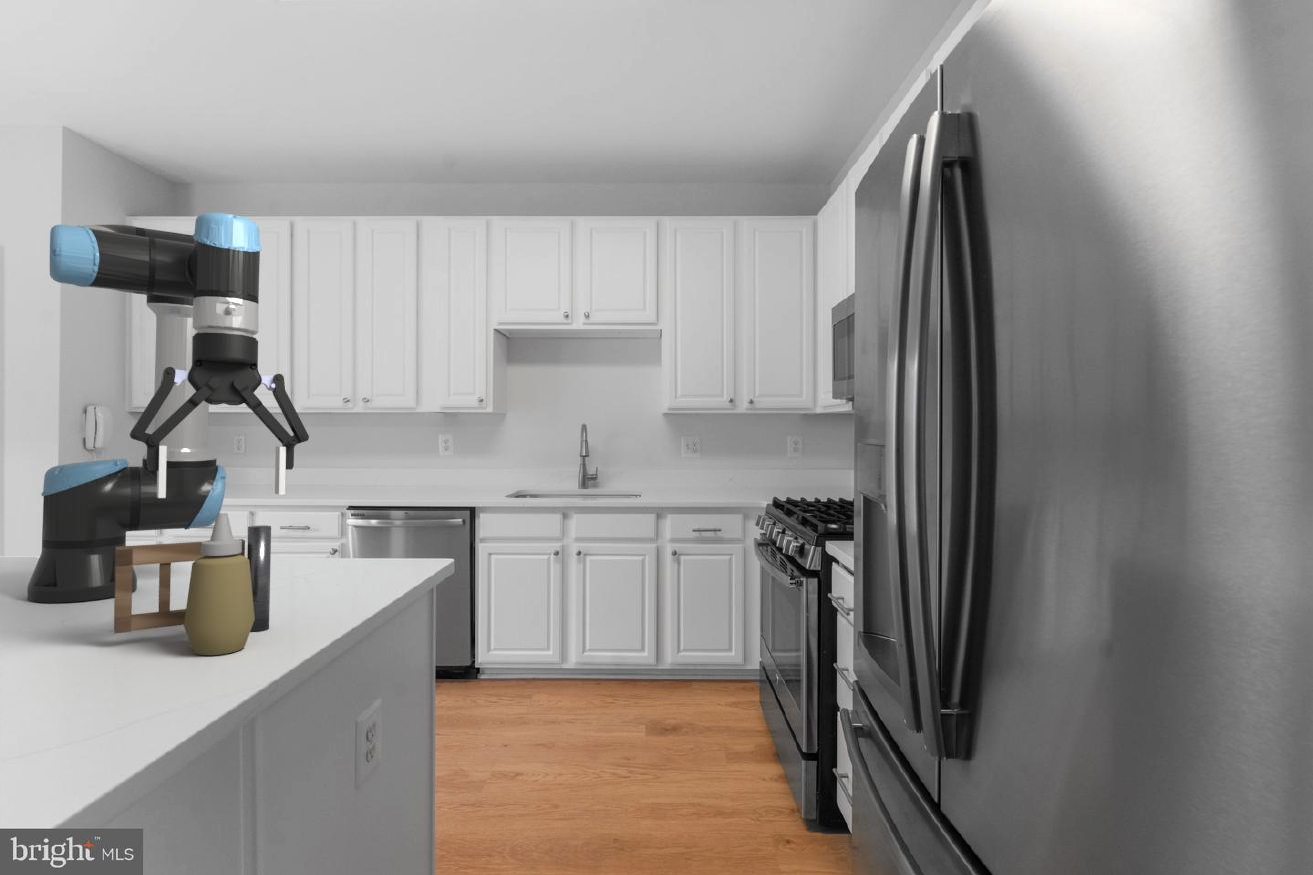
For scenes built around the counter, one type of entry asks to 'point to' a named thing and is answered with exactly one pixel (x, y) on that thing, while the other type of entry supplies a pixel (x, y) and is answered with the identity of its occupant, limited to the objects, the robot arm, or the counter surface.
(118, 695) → the counter surface
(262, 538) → the gate post
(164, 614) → the gate
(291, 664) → the counter surface
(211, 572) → the squeeze bottle
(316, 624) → the counter surface
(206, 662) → the counter surface
